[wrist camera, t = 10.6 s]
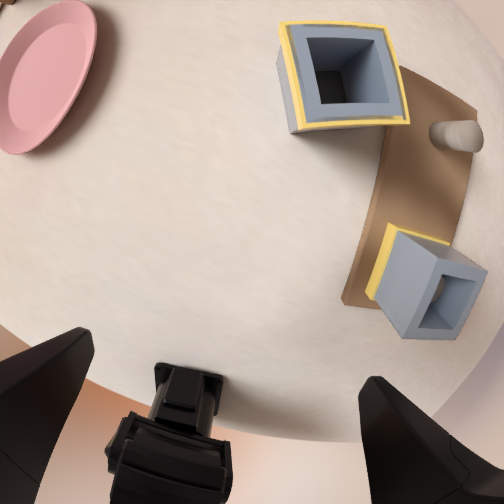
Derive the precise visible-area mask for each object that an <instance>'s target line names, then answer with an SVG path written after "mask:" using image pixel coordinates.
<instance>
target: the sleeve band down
mask: <svg viewBox="0 0 504 504" xmlns="http://www.w3.org/2000/svg"><path fill="white" fill-rule="evenodd" d="M449 245H450V243H449V242H448V241H446V240H444V239H442V238H440V237H437V236H434V235H430V234H427V233H424V232H421V231H417V230H414V229H410V228H407V227H404V226H400V225H397V224H393V223H389V222H388V225H387V228H386V231H385V235H384V238H383V241H382V244H381V247H380V251H379V254H378V257H377V260H376V263H375V265H374V268H373V271H372V274H371V277H370V279H369V282H368V285H367V288H366V290H365V293H366V294H367V296H368V297H369V299H370V300H374V301H376V302H377V303H378V305H379V306H380V307H381V309H382V310H383V312H384V313H385V315H386V316H387V318H388V319H389V320H390V322H391V323H392V325H393V326H394V328H395V329H396V331H397V332H398V334H399V335H400V337H401V338H402V339H423V340H456V338H457V336H458V334H459V332H460V331H461V329H462V327H463V325H464V323H465V321H466V319H467V317H468V315H469V313H470V311H471V309H472V307H473V305H474V303H475V301H476V298H477V296H478V294H479V292H480V289H481V287H482V285H483V282H484V280H485V277H486V275H487V272H488V271H487V270H485V269H484V268H482V267H481V266H479V265H478V264H477V263H475V262H474V261H472V260H470V259H469V258H467V257H466V256H464V255H463V254H461V253H460V252H458V251H456V250H455V249H453V248H452V247H450V246H449ZM441 276H442V277H443V278H444V280H445V287H444V290H443V292H442V294H441V295H440V297H439V298H438V299H437V300H435V301H433V302H431V299H432V297H433V295H434V293H435V290H436V288H437V286H438V283H439V281H440V278H441ZM430 302H431V303H430Z"/></svg>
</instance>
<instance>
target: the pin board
mask: <svg viewBox="0 0 504 504" xmlns="http://www.w3.org/2000/svg"><path fill="white" fill-rule="evenodd" d="M399 69H400V73H401V77H402V82H403V86H404V91H405V96H406V101H407V106H408V112H409V118H410V124H407V125H399V126H394V125H387V127H386V133H385V139H384V144H383V149H382V154H381V159H380V164H379V169H378V173H377V178H376V182H375V186H374V190H373V195H372V199H371V203H370V206H369V210H368V214H367V218H366V221H365V225H364V229H363V232H362V235H361V239H360V242H359V246H358V249H357V252H356V255H355V258H354V262H353V265H352V268H351V271H350V274H349V277H348V280H347V283H346V285H345V288H344V291H343V294H342V297H341V299H342V301H343V303H344V305H348V306H356V307H364V308H372V309H381V307H380V306H379V305H378V303H377V302H376V301H374V300H370V299H369V297H368V296H367V294H366V293H365V290H366V288H367V285H368V282H369V279H370V277H371V274H372V271H373V268H374V265H375V263H376V260H377V257H378V254H379V251H380V247H381V244H382V241H383V238H384V235H385V231H386V228H387V225H388V222H389V223H393V224H397V225H400V226H404V227H407V228H410V229H414V230H417V231H421V232H424V233H427V234H430V235H434V236H437V237H440V238H442V239H444V240H446V241H448V242H449V243H450V245H449V246H450V247H451V244H452V240H453V237H454V234H455V231H456V227H457V224H458V221H459V217H460V213H461V209H462V206H463V202H464V197H465V193H466V189H467V184H468V179H469V174H470V168H471V162H472V156H473V152H479V151H480V150H481V149H482V147H483V142H484V138H483V133H482V130H481V128H480V126H479V125H478V124H477V123H476V122H477V110H476V109H474V108H473V107H471V106H470V105H469V104H467V103H466V102H464V101H463V100H461V99H460V98H458V97H457V96H455V95H453V94H452V93H450V92H449V91H447V90H445V89H444V88H442V87H440V86H439V85H437V84H435V83H433V82H432V81H430V80H428V79H426V78H424V77H422V76H420V75H419V74H417V73H415V72H413V71H411V70H409V69H407V68H404V67H402V66H399ZM444 287H445V280H444V278H443V277H442V276H441V278H440V281H439V283H438V286H437V288H436V290H435V293H434V295H433V297H432V299H431V302H433V301H435V300H437V299H438V298H439V297H440V295H441V294H442V292H443V290H444ZM431 302H430V303H431ZM381 310H382V309H381Z"/></svg>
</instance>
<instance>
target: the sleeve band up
mask: <svg viewBox="0 0 504 504" xmlns="http://www.w3.org/2000/svg"><path fill="white" fill-rule="evenodd" d="M278 34H279V39H280V43H281V45H280V49H279V54H278V58H277V63H276V64H277V69H278V74H279V78H280V83H281V88H282V93H283V98H284V103H285V109H286V114H287V120H288V125H289V131H290V133H298V132H308V131H319V130H331V129H347V128H364V127H369V126H384V125H394V126H399V125H407V124H410V118H409V112H408V106H407V101H406V96H405V91H404V86H403V82H402V77H401V73H400V69H399V65H398V62H397V58H396V54H395V51H394V48H393V44H392V41H391V38H390V35H389V32H388V29H387V26H383V25H376V24H368V23H358V22H344V21H287V22H280V23H279V29H278ZM315 71H340V72H341V76H342V81H343V86H344V90H345V95H346V100H347V103H338V104H321V100H320V95H319V90H318V85H317V81H316V76H315Z"/></svg>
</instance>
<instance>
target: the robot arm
mask: <svg viewBox="0 0 504 504" xmlns="http://www.w3.org/2000/svg"><path fill="white" fill-rule="evenodd" d="M94 352H95V351H94V344H93V340H92V334H91V332H90V330H88V329H85V328H82V327H77V328H75V329H72V330H70V331H68V332H66V333H63V334H61V335H59V336H56V337H54V338H52V339H50V340H47V341H45V342H43V343H41V344H38V345H36V346H34V347H32V348H30V349H27V350H25V351H23V352H20V353H18V354H16V355H14V356H11V357H9V358H7V359H5V360H3V361H1V362H0V504H34V502H35V499H36V496H37V493H38V490H39V487H40V483H41V481H42V478H43V475H44V472H45V470H46V467H47V464H48V462H49V459H50V457H51V454H52V452H53V449H54V447H55V444H56V442H57V440H58V437H59V435H60V433H61V431H62V429H63V426H64V424H65V422H66V419H67V417H68V415H69V413H70V411H71V409H72V407H73V405H74V403H75V401H76V399H77V396H78V395H79V392H80V390H81V388H82V385H83V382H84V380H85V377H86V374H87V372H88V369H89V366H90V364H91V361H92V359H93V356H94ZM159 367H160V368H159ZM154 370H155V383H156V396H155V398H154V401H153V404H152V407H151V409H150V413H149V415H148V418H145V417H142V416H140V415H137V413H135V412H133V411H130V413H129V415H128V417H125V418H122V420H121V423H120V425H119V427H118V430H117V432H116V433H115V435H114V436H113V438H112V439H111V440H110V442H109V443H108V445H107V446H106V448H105V454H106V456H107V458H108V472H109V473H112V474H114V475H115V476H114V480H113V484H112V488H111V492H110V504H225V503H226V502H227V500H228V498H229V495H230V492H231V488H232V482H233V471H232V459H231V447H230V442H229V441H225V440H224V441H220V440H216V439H212V438H210V434H211V427H212V421H213V416H216V415H217V413H218V407H219V402H220V396H221V391H222V385H223V377H222V376H220V375H216V374H210V373H205V372H199V371H194V370H190V369H185V368H180V367H176V366H172V365H167V364H163V363H156V365H155V367H154ZM358 401H359V412H360V425H361V436H362V442H363V448H364V454H365V459H366V466H367V472H368V479H369V486H370V494H371V502H372V504H504V470H502V469H499V468H497V467H495V466H493V465H492V464H490V463H489V462H487V461H486V460H484V459H483V458H481V457H480V456H478V455H477V454H475V453H474V452H472V451H471V450H469V449H468V448H467V447H465V446H464V445H463V444H461V443H460V442H459V441H458V440H456V439H455V438H454V437H453V436H452V435H449V433H448V432H447V431H446V430H444V429H443V428H442V427H441V426H440V425H438V424H437V423H436V422H435V421H434V420H432V419H431V418H430V417H429V416H428V415H427V414H425V413H424V412H423V411H422V410H421V409H419V408H418V407H417V406H416V405H415V404H414V403H412V402H411V401H410V400H409V399H408V398H406V397H405V396H404V395H403V394H402V393H401V392H399V391H398V390H397V389H396V388H395V387H394V386H392V385H391V384H390V383H389V382H388V381H387V380H385V379H384V378H383V377H382V376H370V377H369V378H368V379H367V381H366V382H365V384H364V386H363V387H362V389H361V390H360V392H359V396H358Z"/></svg>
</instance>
